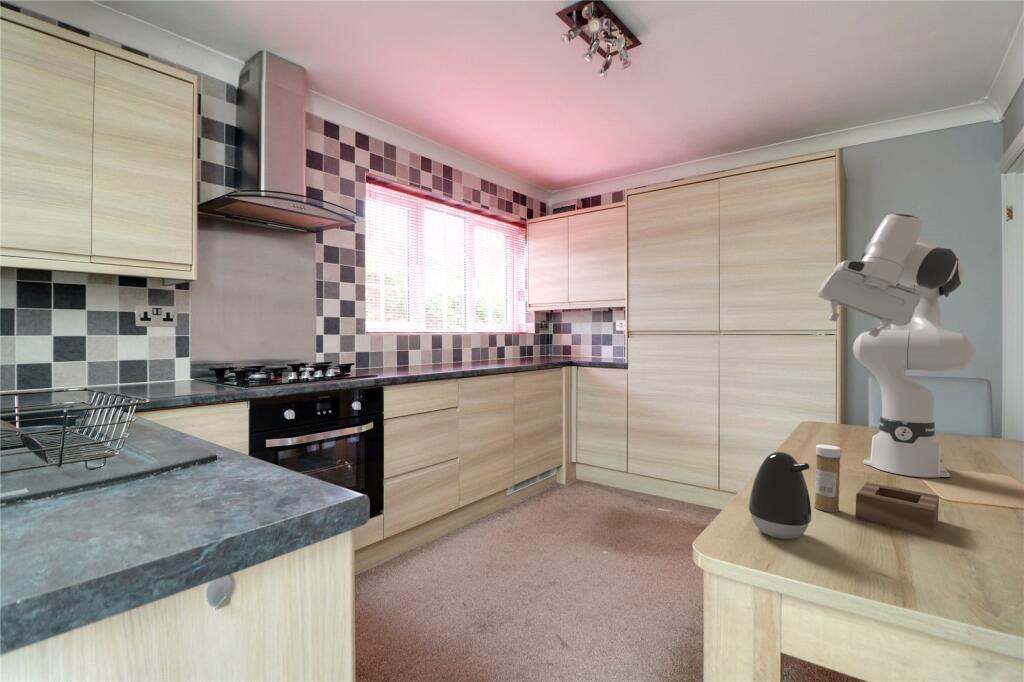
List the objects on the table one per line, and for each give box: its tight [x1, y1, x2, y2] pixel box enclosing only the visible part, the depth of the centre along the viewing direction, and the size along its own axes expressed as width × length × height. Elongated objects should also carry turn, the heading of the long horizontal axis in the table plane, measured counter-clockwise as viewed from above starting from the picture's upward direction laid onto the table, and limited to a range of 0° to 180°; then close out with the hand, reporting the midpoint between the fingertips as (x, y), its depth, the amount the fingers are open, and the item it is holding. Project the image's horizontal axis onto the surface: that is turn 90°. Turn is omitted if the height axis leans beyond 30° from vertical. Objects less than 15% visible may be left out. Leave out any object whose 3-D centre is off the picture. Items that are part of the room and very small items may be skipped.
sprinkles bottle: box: [813, 444, 842, 513], centre depth 105 cm, size 5×5×13 cm
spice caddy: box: [854, 481, 940, 538], centre depth 100 cm, size 12×12×5 cm
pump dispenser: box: [748, 451, 812, 540], centre depth 91 cm, size 10×10×15 cm
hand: (852, 328), depth 120 cm, fingers open, 8 cm apart
